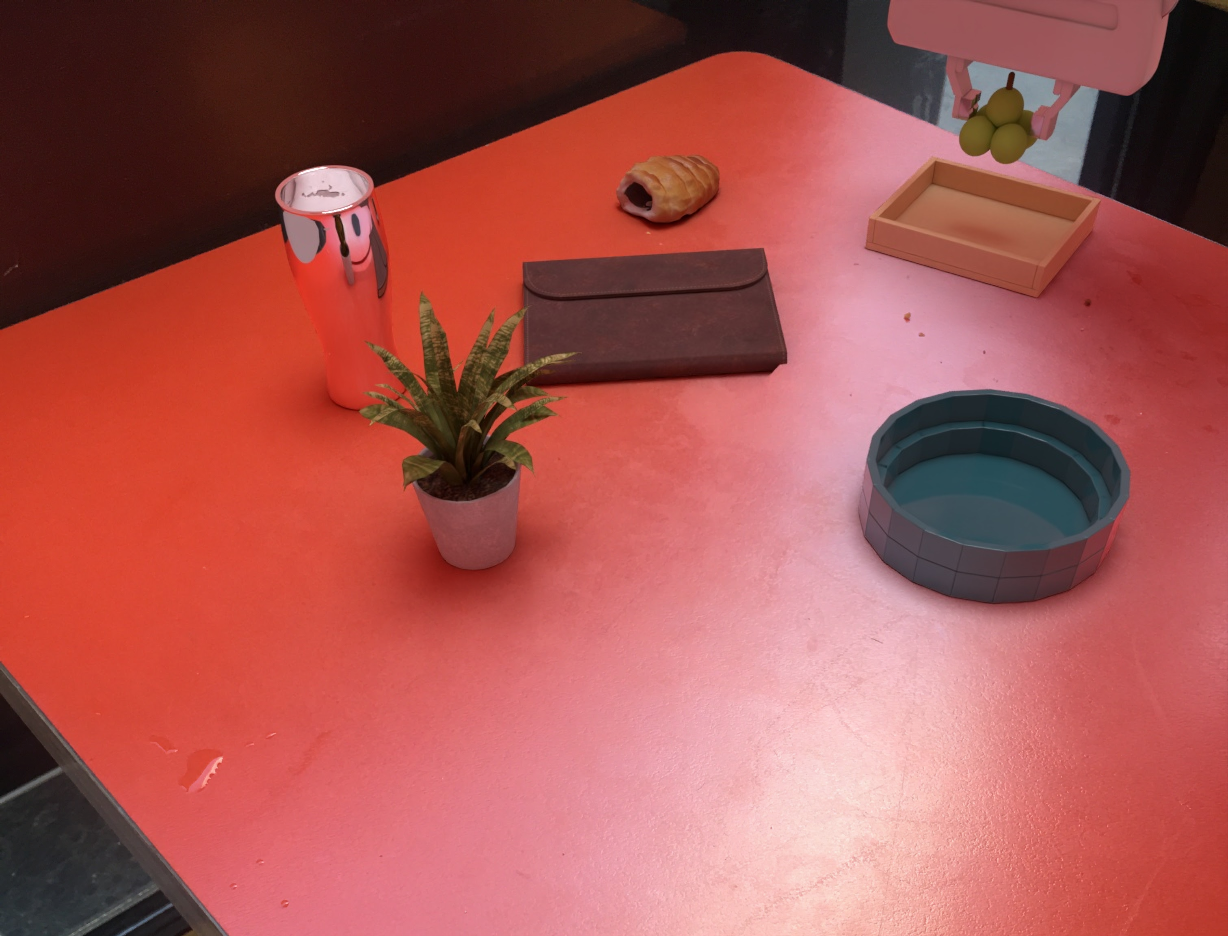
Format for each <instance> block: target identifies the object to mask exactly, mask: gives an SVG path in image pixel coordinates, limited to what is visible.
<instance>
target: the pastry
mask: <svg viewBox="0 0 1228 936" xmlns="http://www.w3.org/2000/svg"><path fill="white" fill-rule="evenodd" d="M720 179H721V176H720V169H719V167H718V166H717V165H715V164H714V163H713V162H712V161H710V160H709V159H708V158H707V157H705V156H703V155H699V154H690V155H684V154H673V155H664V156H663V155H659V156H655V155H653V156H650V157H649V158H648V159H647V160H646V161H641V162H635V163H634V164H633V165H632V166H631V168H630V169H629V170H627V171H626V172H625V174H624V176H623V177H622V179H621V180H620V182H619V185H618V187H617V188H616V189H615V191H616V192H615V194H616V200H617V201H618V202H619V203H620V206H621V209H622V210H623V211H624V212H627V213H629V214H631V215H633V216H637V217H642V218H644V219H646V220H648V221H650V222H653V223H664V224H668V223H672V222H675V221H680V220H681V218H682V217H683V216H685V215H689V216H691V215H692V214H694V213H696V212H697V211H698V209H700V208H703V207H704V205H707V203H708V202H710V201H711V200H712V199H713V198H714V196H715V195H716V194H717V192H718V190H719V187H720Z"/></svg>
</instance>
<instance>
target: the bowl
mask: <svg viewBox="0 0 1228 936" xmlns="http://www.w3.org/2000/svg"><path fill="white" fill-rule="evenodd" d="M1131 473H1132V472H1131V469H1130V467H1129V465H1128V462H1127V460H1126V458H1125V456H1124V454H1123V452H1122V449H1121V448H1120V446H1119V444H1118V443H1117V442H1115V441H1114V439H1113V438H1112V437H1111V436H1109V435H1108V433H1106V431H1104V430H1103V428H1101V426H1099V425H1098V424H1097V423H1096V422H1094V421H1093V420H1091V419H1089V418H1087V417H1086V416H1084V415H1082V414H1080V413H1078V412H1077V411H1076V410H1073V409H1072V408H1069V407H1068V406H1066V405H1064V404H1061V403H1059V402H1054V401H1051V400H1048V399H1045V398H1042V397H1039V396H1036V395H1032V394H1028V393H1025V392H1017V391H1008V390H1002V389H1001V390H1000V389H993V388H982V389H981V388H979V389H965V390H964V389H963V390H961V389H960V390H949V391H946V392H945V391H944V392H942V393H938V394H934V395H930V396H926V397H923V398H918V399H916V400H914V401H912V402H911V403H909V404H907V405H905V406H903V407H902V408H900V409H898V410H896V411H895V412H893V413H891V414H890V415H889V416H888V417H887V418H886V419H885V420H884V422H883V423H882V424H881V425H880V427H878V428H877V430H876V431H875V432H874V433H873V434H872V436H871V440H870V443H869V447H868V452H867V455H866V460H865V466H864V473H863V480H862V485H861V491H860V498H859V502H858V503H859V504H858V510H857V511H858V516H859V520H860V524H861V529H862V532H863V536H864V537H865V539H866V540H867V542H868V543H869V545H870V546H871V547H872V548H873V550H874V551H875V552H876V554H877V555H878V556H879V557H880V559H881V560H882V561H883V562H884V563H885V564H886V565H888V566H889V567H891V569H893V570H895V571H896V572H898V573H899V574H901V575H902V576H903V577H905V578H906V579H907V580H909V581H910V582H913V583H914V584H917V585H919V586H922V587H925V588H927V589H930V590H931V591H935V592H937V593H939V594H942V595H945V596H948V597H951V598H957V599H964V600H970V601H974V602H975V601H976V602H980V603H981V602H983V603H988V604H1004V603H1005V604H1006V603H1017V602H1018V603H1021V602H1034V601H1038V600H1041V599H1044V598H1048V597H1051V596H1055V595H1057V594H1061V593H1064V592H1067V591H1070V590H1071V589H1073V588H1074V587H1076V586H1078V585H1079V584H1080V583H1082V582H1083V581H1085V580H1087V579H1088V578H1089V577H1090V576H1092V575H1094V574H1095V573H1096V572H1097V571H1098V569H1099V567H1100V566H1101V564H1102V562H1103V561H1104V559H1105V558H1106V556H1107V555H1108V553H1109V551H1110V550H1111V548H1112V545H1113V542H1114V539H1115V537H1116V534H1117V532H1118V530H1119V526H1120V524H1121V521H1122V518H1123V515H1124V513H1125V511H1126V507H1127V505H1128V502H1129V499H1130V496H1131V495H1130V494H1131V475H1132V474H1131Z"/></svg>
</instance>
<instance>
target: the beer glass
mask: <svg viewBox="0 0 1228 936" xmlns="http://www.w3.org/2000/svg"><path fill="white" fill-rule="evenodd" d="M374 184H375V183H374V180H373V178H372V177H371V175H369V174H368V173H366V172H365V171H364V170H362V169H359V168H357V167H352V166H347V165H335V164H333V165H321V166H314V167H311V168H310V167H309V168H306V169H303V170H300V171H298V172H295V173H293V174H291V175H289V176H288V177H286V178H285V179H284V180H282V181H281V182H280V184H279V185H278V186H277V187H276V190H275V193H274V198H275V201H276V205H277V210H278V217H279V223H280V229H281V235H282V240H283V245H284V250H285V254H286V258H287V261H288V265H289V268H290V272H291V277H292V278H293V281H294V283H295V287H296V289H297V291H298V294H299V296H300V299H301V301H302V304H303V305H304V308H305V310H306V312H307V315H308V317H309V318H310V319H309V320H310V321H311V323H312V325H313V327H314V330H315V333H316V335H317V337H318V339H319V342H320V345H321V350H322V353H323V356H324V364H325V381H326V390H327V394H328V397H329V398H330V400H332V402H334V403H335V404H336V405H338V406H340V407H341V408H345V409H349V410H354V411H355V410H356V411H360V410H361V409H363V408H365V407H367V406H369V405H374V404H385V405H387V404H386V403H384V402H383V401H381V400H380V399H376V398H372V397H370V396H368V395H366V394H364V393H363V392H377V393H380V394H382V395H384V396H386V397H388V398H390V399H393V400H395V401H397V400H398V399H399V398H401V397H400V396H399V395H397V394H396V393H395V392H393V391H391V390H390V389H388V388H384V387H380V386H377V385H375V384H387V385H389V386H390V387H392V388H393V389H395V390H396V391H397V392H399V393H401V394H403V393H404V392H405V391H406V390H407V389H406V388H405V386H404V385H403V384H402V383H401V381H400V380H399V379H398V378H397V377H396V376H395V375H394V374H393V373H392V372H391V373H387V372H390V370H389V369H388V368H387V366H386V365H385V363H384V362H383V360H382V358H381V357H380V356H379V355H377V354H376V353H375V352H374V351H372V350H371V348H370V347H369V346H368V345H367V343H366V342H365V341H367V342H370V343H372V344H374V345H377V346H380V347H382V348H383V349H385V350H387V351H388V352H390V353H391V354H392V355H394V356H395V357H396V358H397V359H398V360H400V361H401V359H400V356H399V353H398V350H397V346H396V342H395V338H394V337H395V336H394V331H393V330H394V329H393V281H392V280H393V279H392V263H391V256H390V248H389V243H388V237H387V232H386V228H385V223H384V219H383V217H382V213H381V212H382V211H381V208H380V204H379V202H378V198H377V194H376V190H375V185H374ZM362 340H363V341H362ZM403 395H404V394H403Z"/></svg>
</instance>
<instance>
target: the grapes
mask: <svg viewBox="0 0 1228 936" xmlns="http://www.w3.org/2000/svg"><path fill="white" fill-rule="evenodd" d="M1015 78H1016V72H1015V71H1010V72H1009V73H1008V75H1007V81H1006V84H1005V86H1003V87H1000V88H998V89H996V90H995V91H993V93H992V94H991V95H990V97H989V99H988V100H987V103H986V104H984V105H983V106H981V107H979V108H978V111H977V114H976V116H975V117H972V118H971V119H969V120H968V121H965V123H964V124H962V127H961V128H960V131H959V134H958V142H959V146H960V149H961V151H963V153H964V154H966V155H967V156H970V157H981V156H983V155H985V154H986V153H988V152H990V155H991V156H992V158H993V160H995V161H996V162H997V163H999V164H1002V165H1012V164H1014V163H1016V162H1018V161H1019V160H1020V159H1021V158H1022V157H1023V155H1025V152H1026V151H1027V150H1028V149H1030V148H1031V147H1032V146H1033V145H1034V144H1035V143H1036V142H1037V141H1038V139H1037V138H1033V137H1029V136H1028V132H1029V129H1030V128H1031V127H1032V126H1031V119H1032V115H1033V113H1034V112H1035V111H1032V110H1029V109H1025V99H1024V97H1023V94H1022V93H1021V91H1019V90H1018V89H1017V88H1015V87H1014V83H1015Z"/></svg>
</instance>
